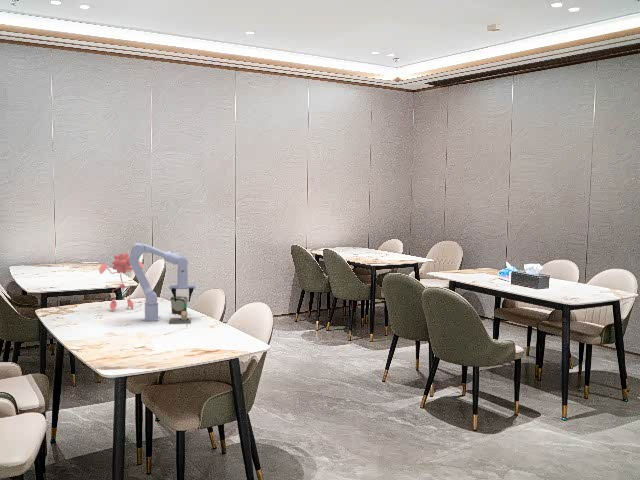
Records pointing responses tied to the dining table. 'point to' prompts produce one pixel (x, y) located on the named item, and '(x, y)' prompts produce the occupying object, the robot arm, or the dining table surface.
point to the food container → (179, 304)
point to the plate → (179, 321)
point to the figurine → (121, 265)
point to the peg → (183, 315)
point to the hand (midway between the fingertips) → (182, 301)
